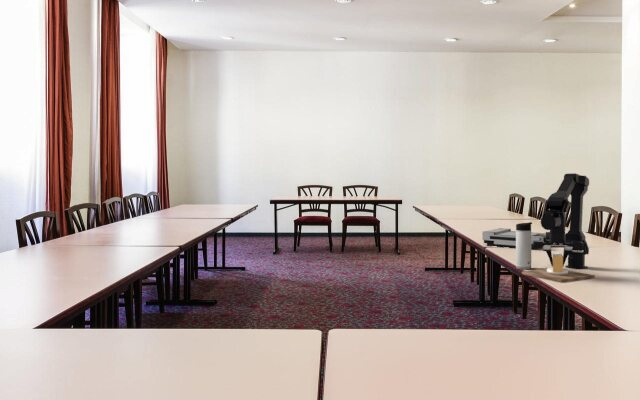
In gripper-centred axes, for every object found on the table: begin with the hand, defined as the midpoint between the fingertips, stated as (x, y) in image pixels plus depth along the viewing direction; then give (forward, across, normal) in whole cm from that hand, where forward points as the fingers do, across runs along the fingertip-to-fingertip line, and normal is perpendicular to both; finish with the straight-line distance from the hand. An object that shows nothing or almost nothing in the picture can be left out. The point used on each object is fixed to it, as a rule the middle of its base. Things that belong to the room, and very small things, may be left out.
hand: (557, 266), depth 226 cm
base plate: (+4, 0, 0) cm, 4 cm away
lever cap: (+3, 0, 0) cm, 3 cm away
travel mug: (+4, +13, -14) cm, 19 cm away
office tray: (+4, +16, -84) cm, 86 cm away
